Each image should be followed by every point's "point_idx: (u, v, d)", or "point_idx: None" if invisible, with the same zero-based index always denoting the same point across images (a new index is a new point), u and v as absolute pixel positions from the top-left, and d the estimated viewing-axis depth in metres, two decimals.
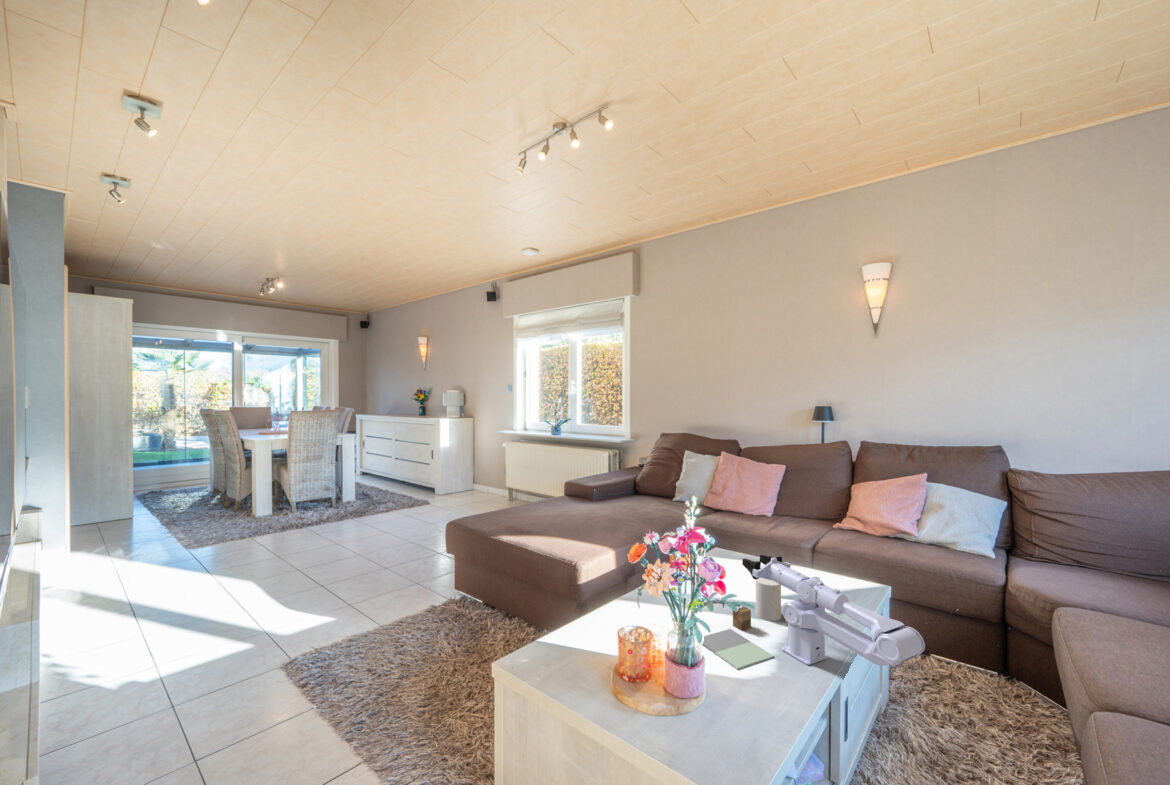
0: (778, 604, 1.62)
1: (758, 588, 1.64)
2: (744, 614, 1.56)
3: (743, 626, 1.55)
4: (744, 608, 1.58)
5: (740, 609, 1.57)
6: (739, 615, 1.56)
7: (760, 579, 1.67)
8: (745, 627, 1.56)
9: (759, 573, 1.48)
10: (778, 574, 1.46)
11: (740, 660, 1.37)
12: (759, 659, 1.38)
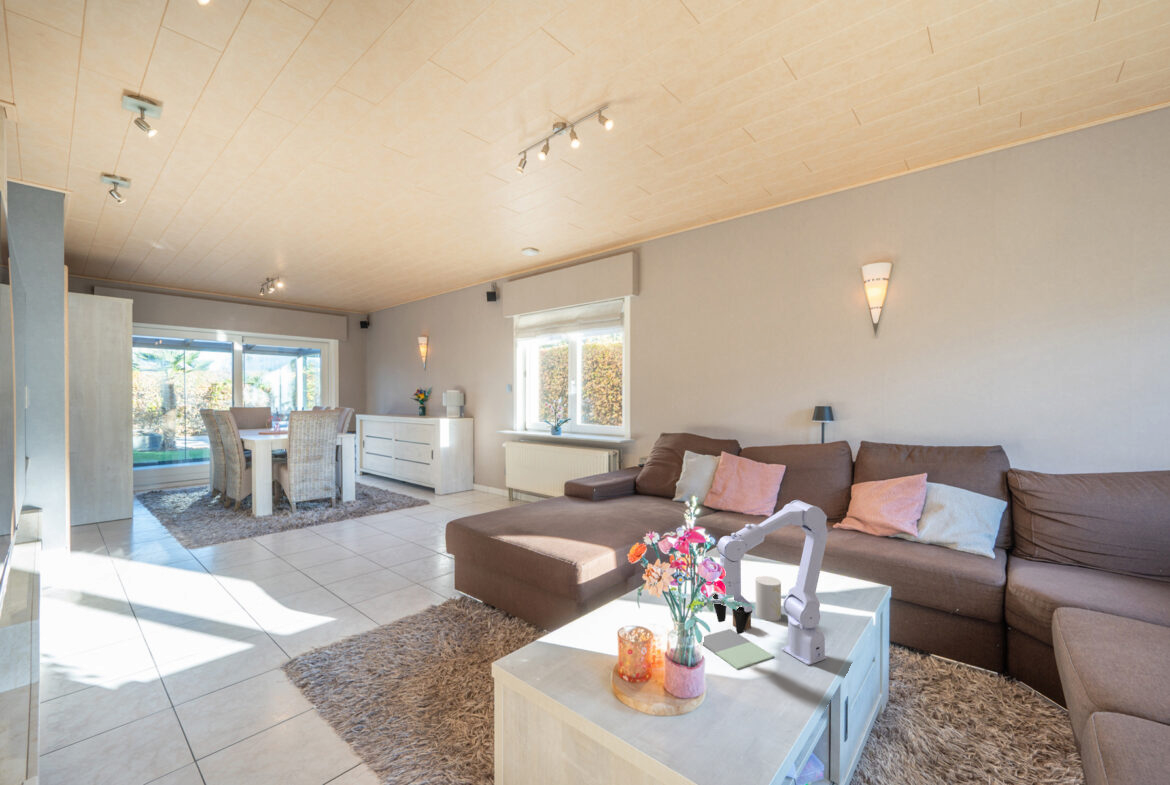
0: (778, 604, 1.62)
1: (758, 588, 1.64)
2: None
3: None
4: None
5: None
6: None
7: (760, 579, 1.67)
8: (745, 627, 1.56)
9: None
10: (734, 584, 1.35)
11: (740, 660, 1.37)
12: (759, 659, 1.38)
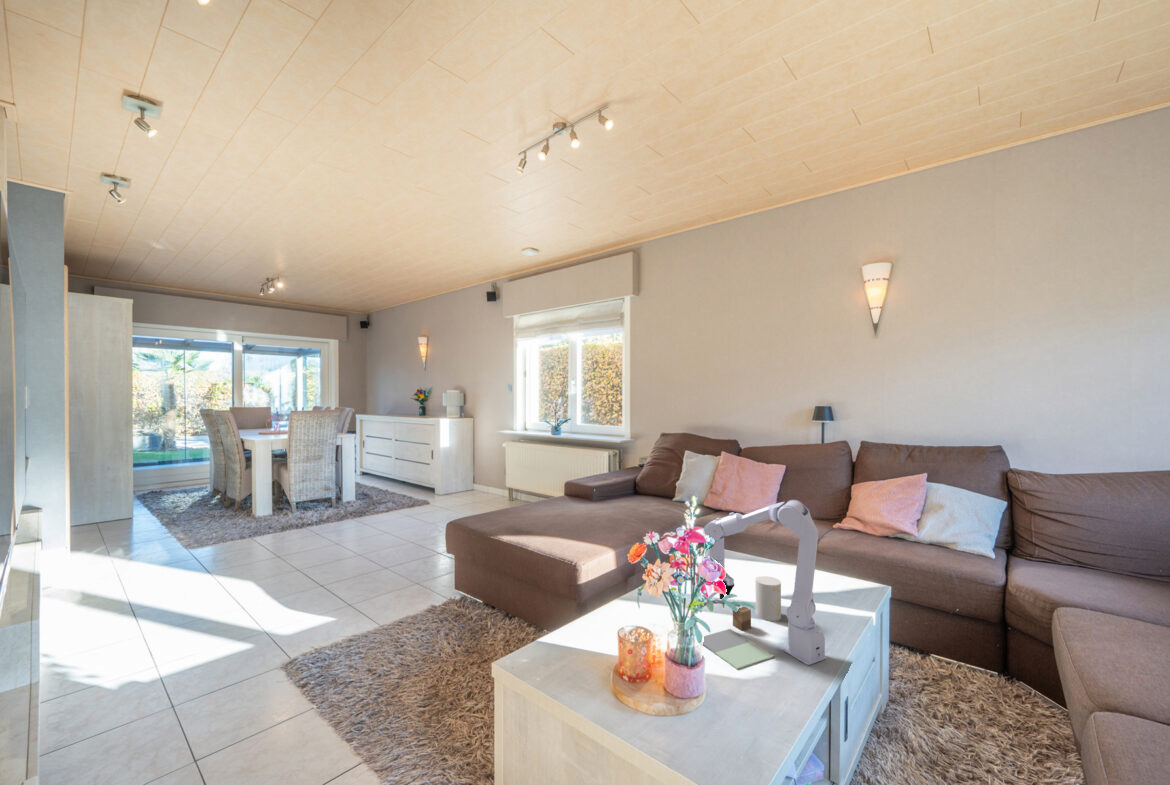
0: (778, 604, 1.62)
1: (758, 588, 1.64)
2: (744, 614, 1.56)
3: (743, 626, 1.55)
4: (744, 608, 1.58)
5: (740, 609, 1.57)
6: (739, 615, 1.56)
7: (760, 579, 1.67)
8: (745, 627, 1.56)
9: (728, 578, 1.51)
10: (718, 562, 1.54)
11: (740, 660, 1.37)
12: (759, 659, 1.38)
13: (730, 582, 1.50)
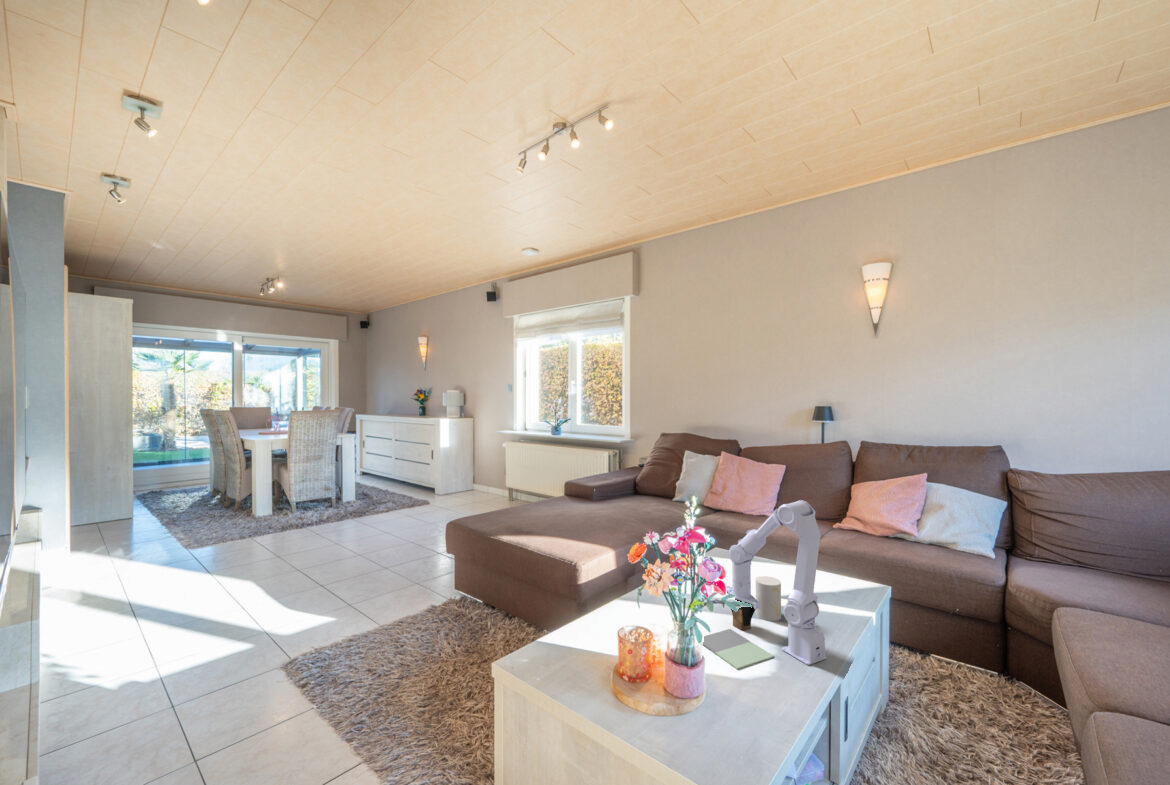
0: (778, 604, 1.62)
1: (758, 588, 1.64)
2: None
3: (743, 625, 1.55)
4: None
5: (740, 609, 1.57)
6: (739, 615, 1.56)
7: (760, 579, 1.67)
8: (745, 627, 1.56)
9: (755, 602, 1.52)
10: (745, 585, 1.55)
11: (740, 660, 1.37)
12: (759, 659, 1.38)
13: (757, 606, 1.51)
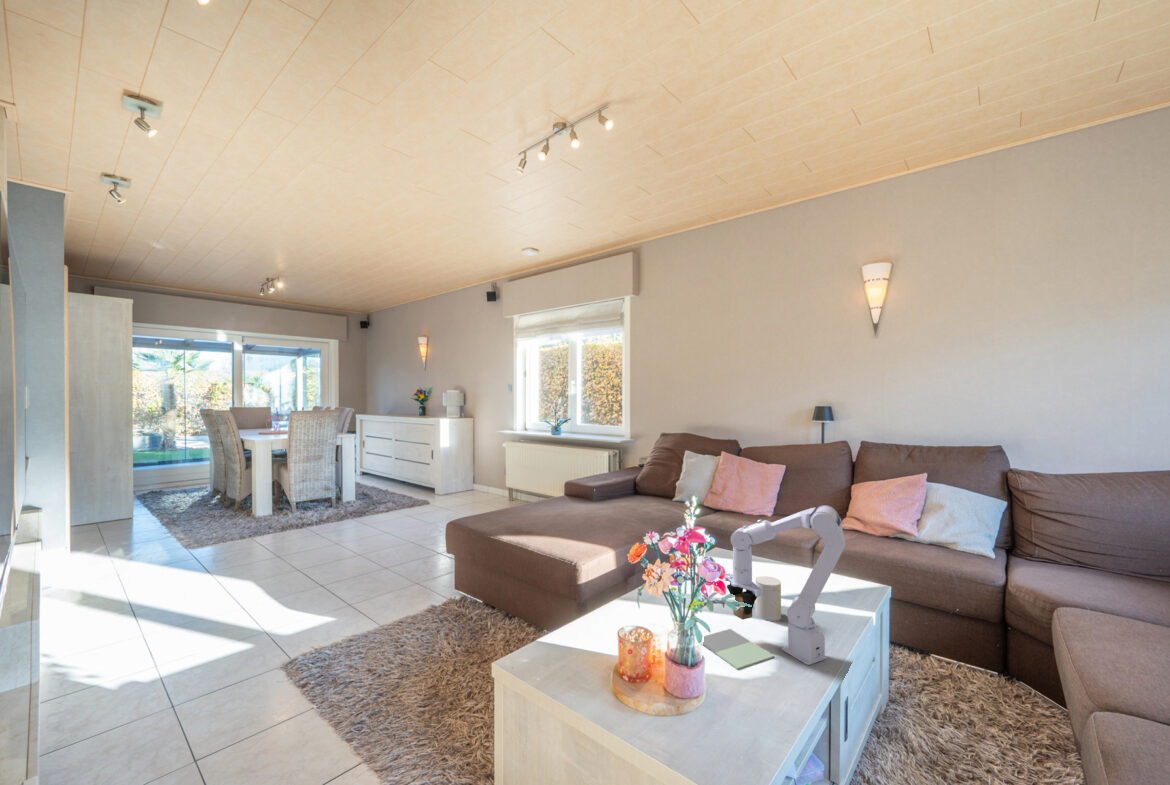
0: (778, 604, 1.62)
1: None
2: None
3: (744, 614, 1.48)
4: None
5: (741, 597, 1.50)
6: None
7: (760, 579, 1.67)
8: (746, 616, 1.49)
9: (756, 589, 1.45)
10: (746, 572, 1.48)
11: (740, 660, 1.37)
12: (759, 659, 1.38)
13: (759, 593, 1.44)
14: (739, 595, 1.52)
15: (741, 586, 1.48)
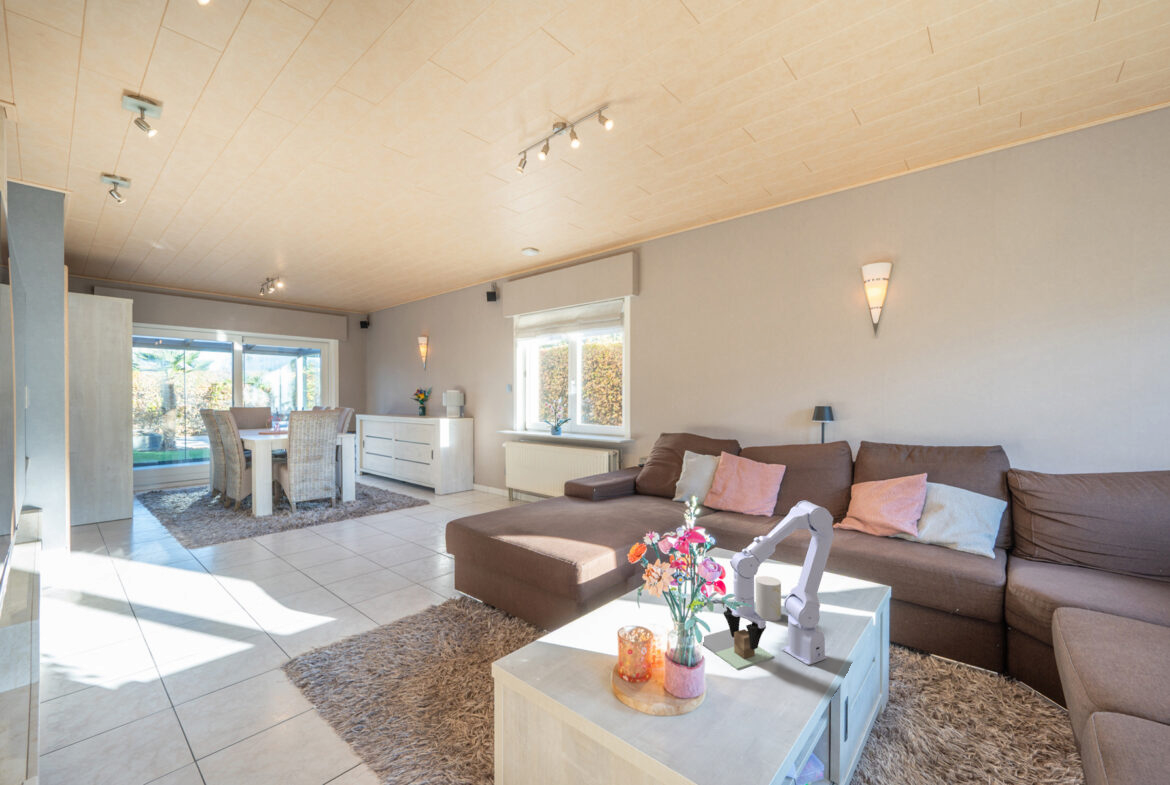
0: (778, 604, 1.62)
1: (758, 588, 1.64)
2: (746, 640, 1.38)
3: (745, 653, 1.38)
4: (747, 633, 1.40)
5: (742, 634, 1.40)
6: (741, 642, 1.38)
7: (760, 579, 1.67)
8: (748, 655, 1.38)
9: (759, 620, 1.35)
10: (748, 601, 1.38)
11: (740, 660, 1.37)
12: (759, 659, 1.38)
13: (762, 625, 1.34)
14: (740, 632, 1.41)
15: (743, 616, 1.37)
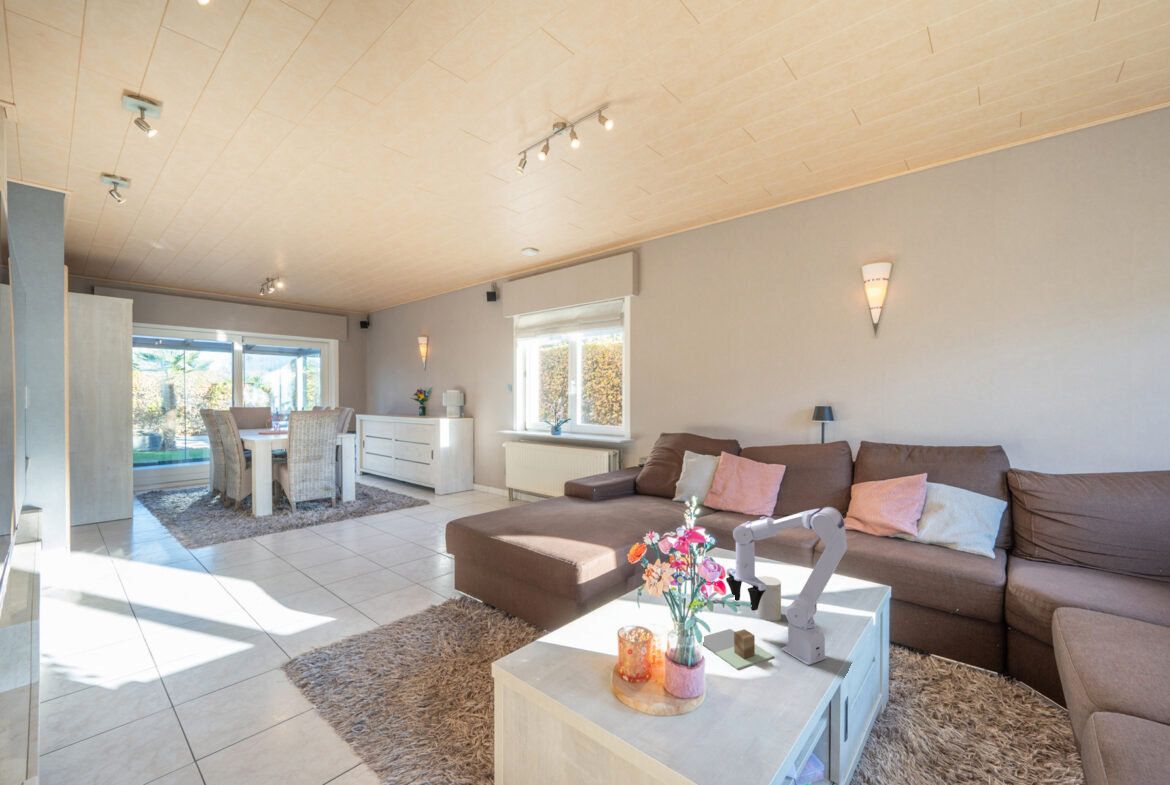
0: (778, 604, 1.62)
1: None
2: (746, 640, 1.38)
3: (745, 653, 1.38)
4: (747, 633, 1.40)
5: (742, 634, 1.40)
6: (741, 642, 1.38)
7: (760, 579, 1.67)
8: (748, 655, 1.38)
9: (759, 583, 1.47)
10: (749, 566, 1.50)
11: (740, 660, 1.37)
12: (759, 659, 1.38)
13: (762, 587, 1.46)
14: (740, 632, 1.41)
15: (744, 580, 1.49)
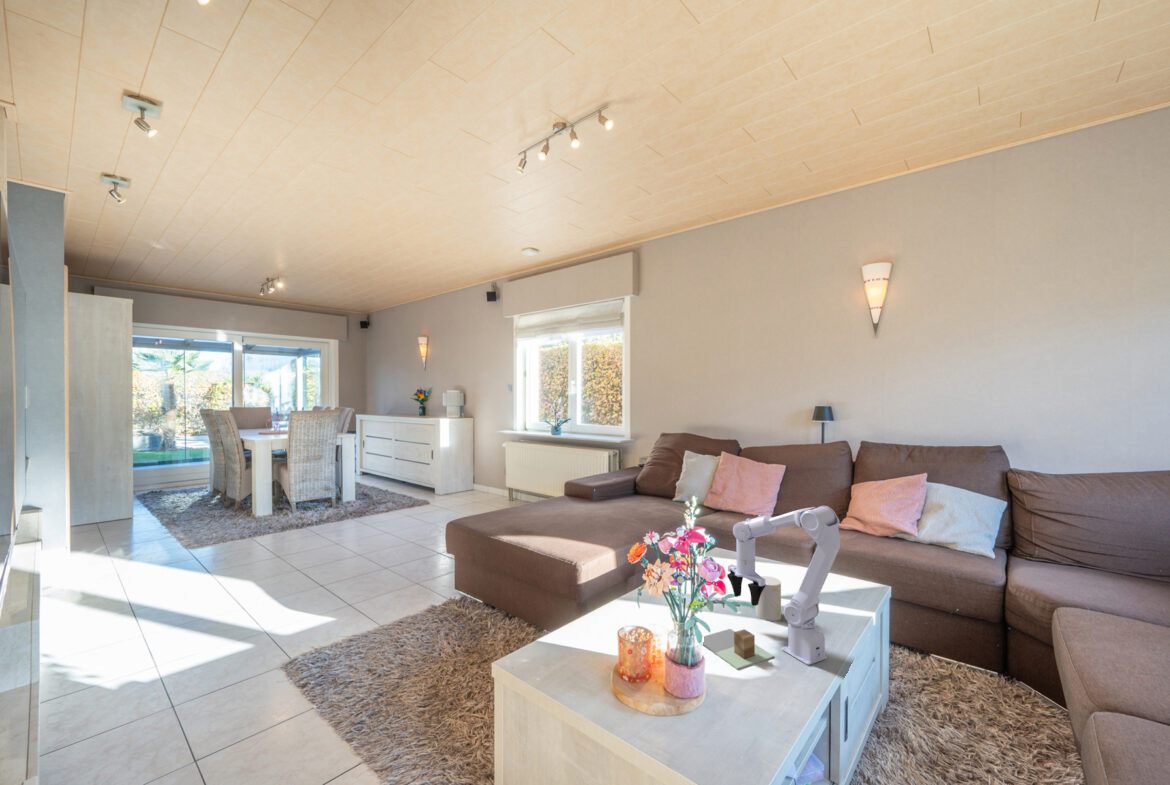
0: (778, 604, 1.62)
1: None
2: (746, 640, 1.38)
3: (745, 653, 1.38)
4: (747, 633, 1.40)
5: (742, 634, 1.40)
6: (741, 642, 1.38)
7: None
8: (748, 655, 1.38)
9: (759, 579, 1.50)
10: (749, 562, 1.53)
11: (740, 660, 1.37)
12: (759, 659, 1.38)
13: (762, 583, 1.49)
14: (740, 632, 1.41)
15: (745, 576, 1.53)
